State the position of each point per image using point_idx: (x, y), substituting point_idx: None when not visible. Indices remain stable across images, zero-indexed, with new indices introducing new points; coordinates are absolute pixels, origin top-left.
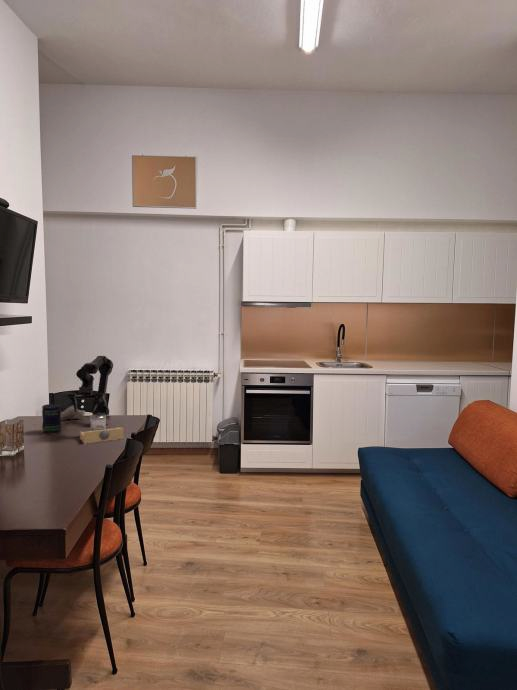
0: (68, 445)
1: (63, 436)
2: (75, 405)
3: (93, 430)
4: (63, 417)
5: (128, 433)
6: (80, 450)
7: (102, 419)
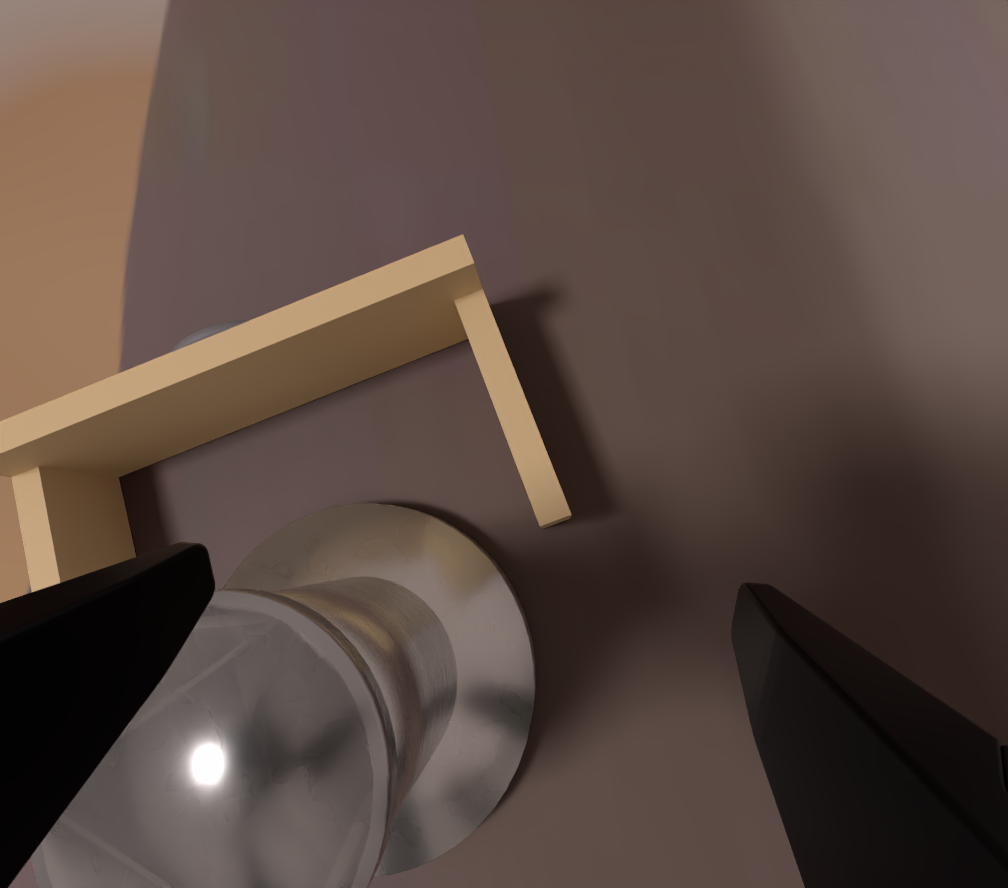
0: (647, 264)
1: None
2: (893, 744)
3: (392, 595)
4: None
5: None
6: (488, 96)
7: None
